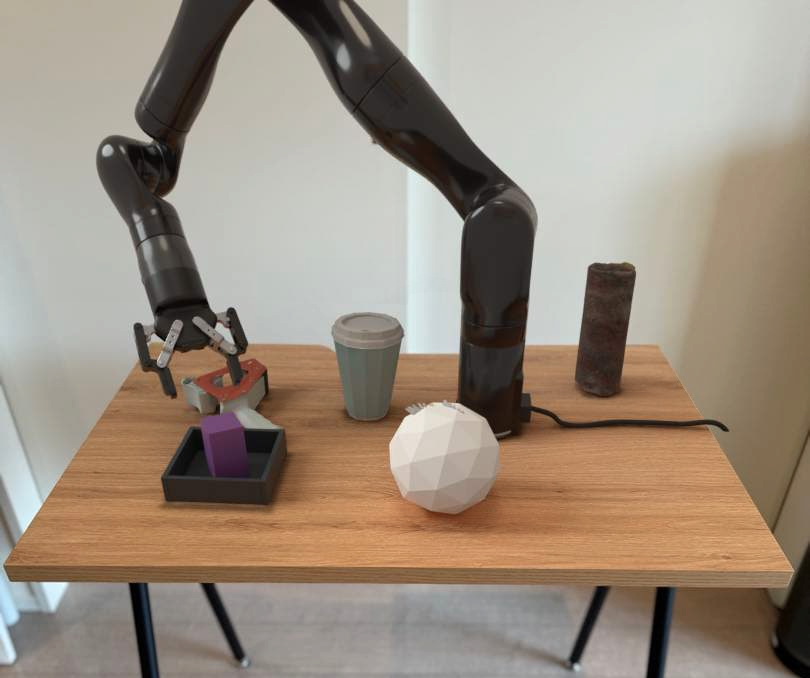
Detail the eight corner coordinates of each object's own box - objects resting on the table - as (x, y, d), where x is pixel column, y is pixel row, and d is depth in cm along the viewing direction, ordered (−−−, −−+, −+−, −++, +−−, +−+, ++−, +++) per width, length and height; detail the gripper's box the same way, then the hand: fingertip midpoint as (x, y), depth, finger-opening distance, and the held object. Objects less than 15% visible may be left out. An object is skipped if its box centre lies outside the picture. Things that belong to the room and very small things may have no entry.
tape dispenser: (279, 461, 115) (306, 390, 130) (277, 430, 111) (305, 361, 126) (159, 450, 116) (200, 381, 131) (153, 419, 112) (195, 351, 127)
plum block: (208, 470, 109) (199, 418, 104) (240, 463, 110) (232, 411, 106) (217, 487, 106) (208, 434, 101) (250, 478, 107) (243, 426, 102)
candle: (565, 390, 130) (582, 267, 118) (580, 373, 135) (597, 253, 123) (611, 401, 127) (633, 275, 115) (625, 383, 132) (647, 261, 120)
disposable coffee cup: (338, 395, 128) (333, 304, 119) (405, 396, 128) (406, 305, 119) (331, 428, 120) (325, 332, 111) (403, 429, 120) (403, 334, 110)
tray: (287, 455, 113) (285, 429, 111) (268, 510, 103) (265, 481, 100) (195, 452, 114) (190, 426, 112) (166, 505, 103) (160, 478, 101)
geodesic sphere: (347, 485, 96) (419, 407, 88) (371, 428, 108) (437, 353, 100) (442, 555, 100) (520, 486, 92) (456, 493, 112) (526, 426, 103)
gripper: (116, 273, 102) (153, 391, 101) (226, 257, 107) (261, 370, 106) (118, 300, 109) (152, 411, 108) (220, 284, 114) (254, 390, 113)
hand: (206, 390), depth 107 cm, fingers open, 8 cm apart
